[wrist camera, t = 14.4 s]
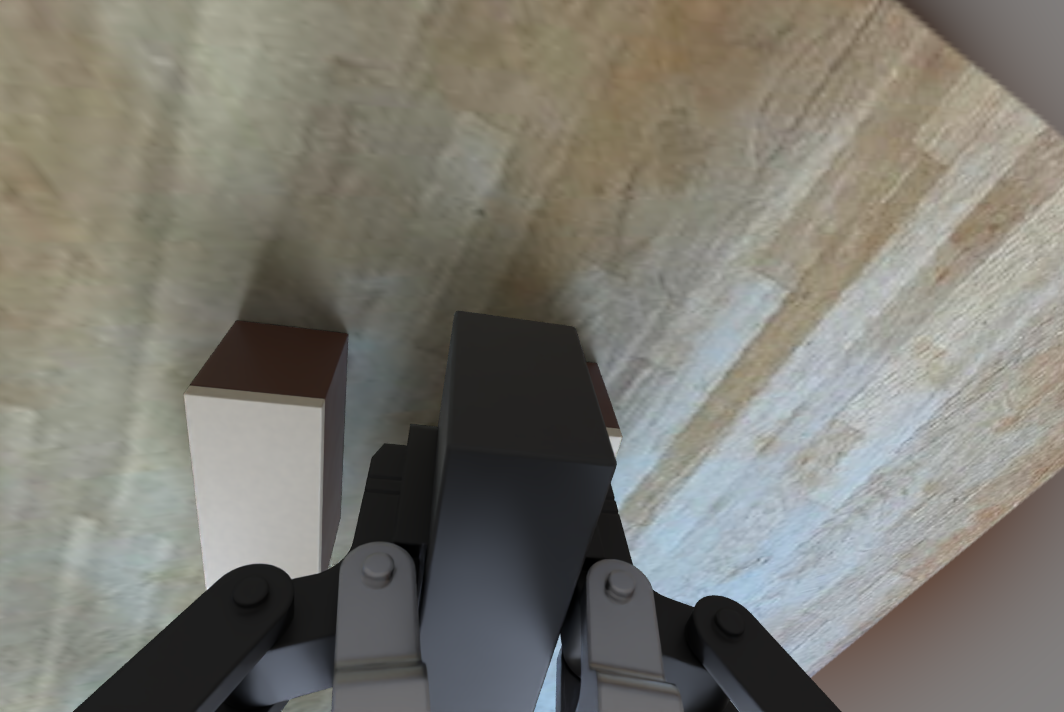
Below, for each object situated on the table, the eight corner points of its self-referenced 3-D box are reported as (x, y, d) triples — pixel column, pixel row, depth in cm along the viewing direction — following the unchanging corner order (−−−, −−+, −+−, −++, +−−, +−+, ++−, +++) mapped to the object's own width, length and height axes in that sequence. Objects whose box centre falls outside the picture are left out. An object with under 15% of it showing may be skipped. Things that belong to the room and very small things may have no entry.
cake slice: (235, 319, 28) (182, 393, 23) (348, 333, 29) (322, 407, 23) (247, 511, 34) (206, 605, 28) (340, 518, 34) (317, 609, 29)
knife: (454, 308, 13) (446, 446, 9) (576, 325, 13) (619, 464, 9) (385, 783, 22) (366, 952, 18) (458, 783, 22) (454, 949, 18)
